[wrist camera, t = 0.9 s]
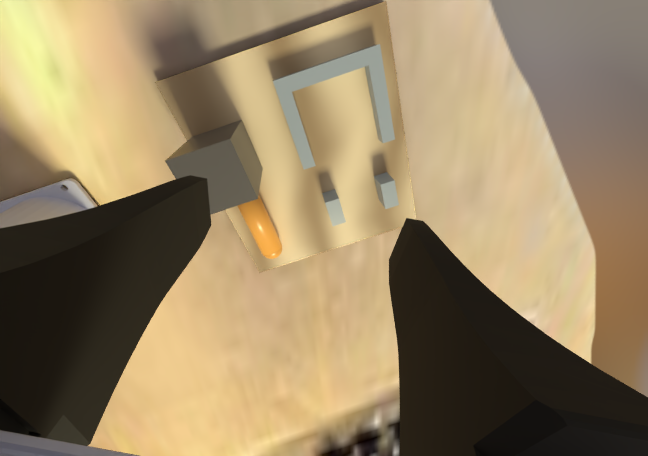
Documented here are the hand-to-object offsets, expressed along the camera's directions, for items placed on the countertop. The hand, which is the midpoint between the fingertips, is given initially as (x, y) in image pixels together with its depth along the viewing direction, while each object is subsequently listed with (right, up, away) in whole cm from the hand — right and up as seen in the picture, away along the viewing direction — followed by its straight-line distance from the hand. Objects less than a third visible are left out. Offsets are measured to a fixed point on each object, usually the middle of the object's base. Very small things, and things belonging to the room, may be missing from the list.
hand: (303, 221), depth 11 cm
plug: (-6, +2, +14) cm, 16 cm away
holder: (+2, +8, +12) cm, 15 cm away
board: (0, +5, +14) cm, 15 cm away
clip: (+4, +3, +16) cm, 16 cm away
